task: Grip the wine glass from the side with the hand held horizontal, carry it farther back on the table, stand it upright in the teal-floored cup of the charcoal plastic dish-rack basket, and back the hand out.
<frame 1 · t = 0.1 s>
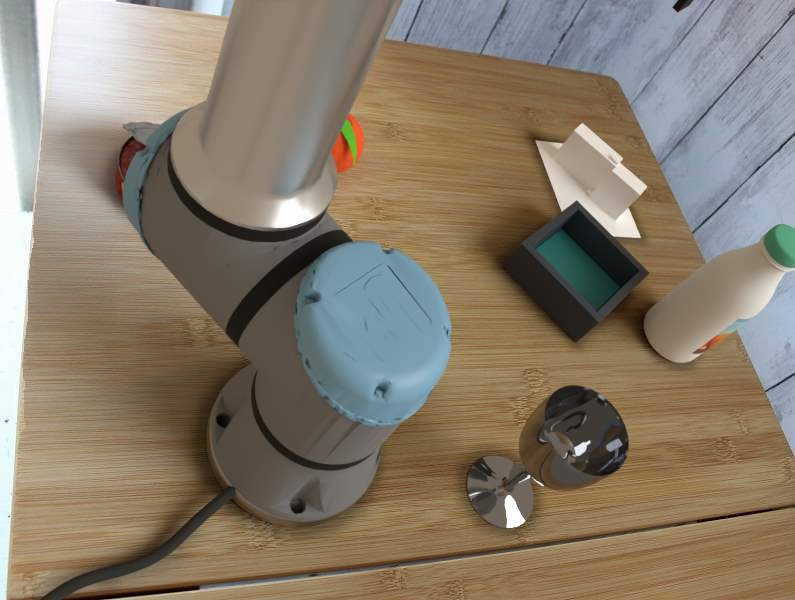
clementine: (323, 166, 93), on the table
milk bottle: (667, 336, 99), on the table
wine glass: (499, 491, 79), on the table
rack: (565, 279, 97), on the table
canned food: (165, 186, 83), on the table
napkin holder: (586, 189, 108), on the table
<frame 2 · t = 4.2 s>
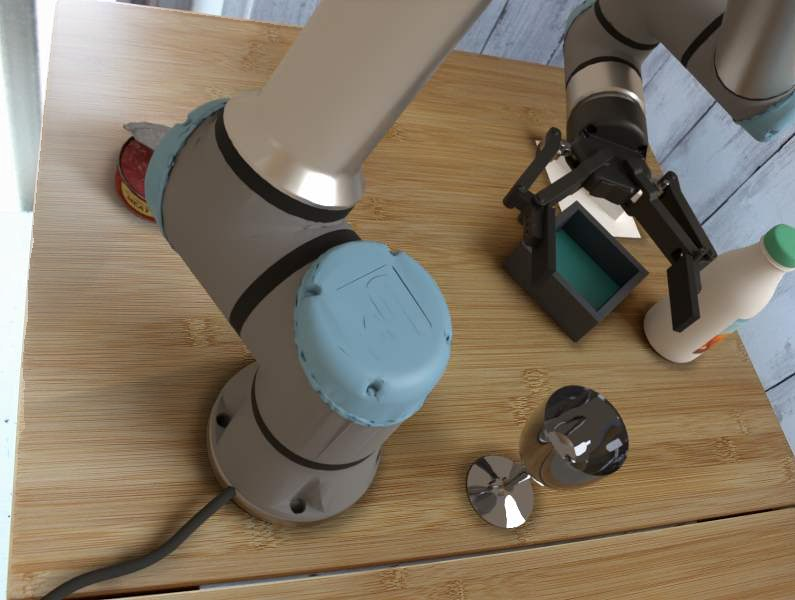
hand: (616, 302, 69), 20 cm above the table, tool horizontal, fingers open, 13 cm apart
nothing on the table moved.
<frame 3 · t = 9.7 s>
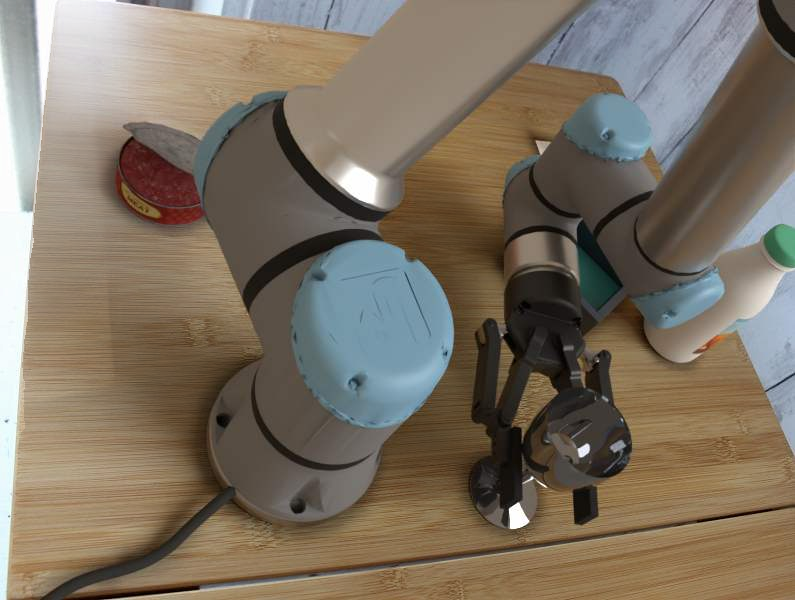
hand: (549, 511, 70), 8 cm above the table, tool horizontal, fingers closed on wine glass, 6 cm apart
wine glass: (503, 492, 79), on the table, touching gripper
everything else where it was.
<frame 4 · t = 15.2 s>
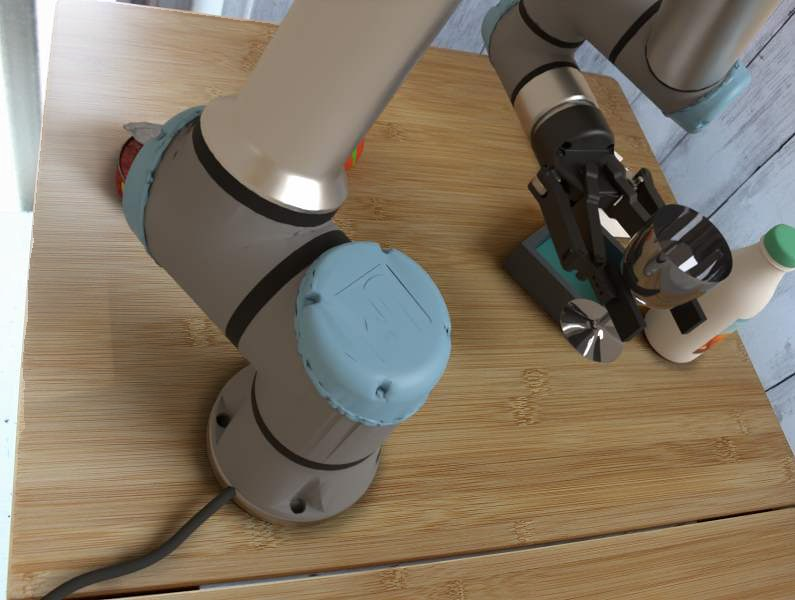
hand: (665, 330, 73), 18 cm above the table, tool horizontal, fingers closed on wine glass, 6 cm apart
wine glass: (591, 331, 81), point 10 cm above the table, touching gripper
everything else where it was.
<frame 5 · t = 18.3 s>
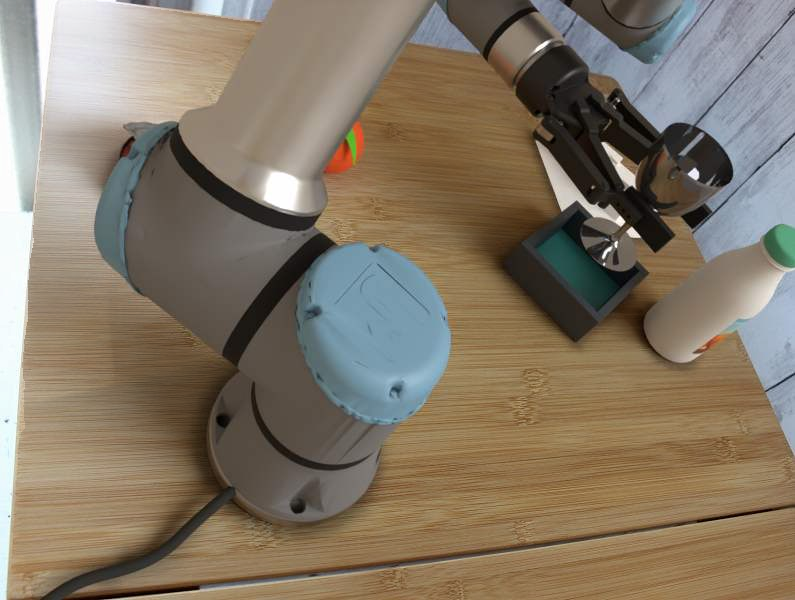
hand: (684, 232, 84), 16 cm above the table, tool horizontal, fingers closed on wine glass, 6 cm apart
wine glass: (607, 244, 91), point 8 cm above the table, touching gripper
everything else where it was.
when the fingers open (9 cm above the table, at t = 20.7 s): wine glass stays where it is, resting on rack.
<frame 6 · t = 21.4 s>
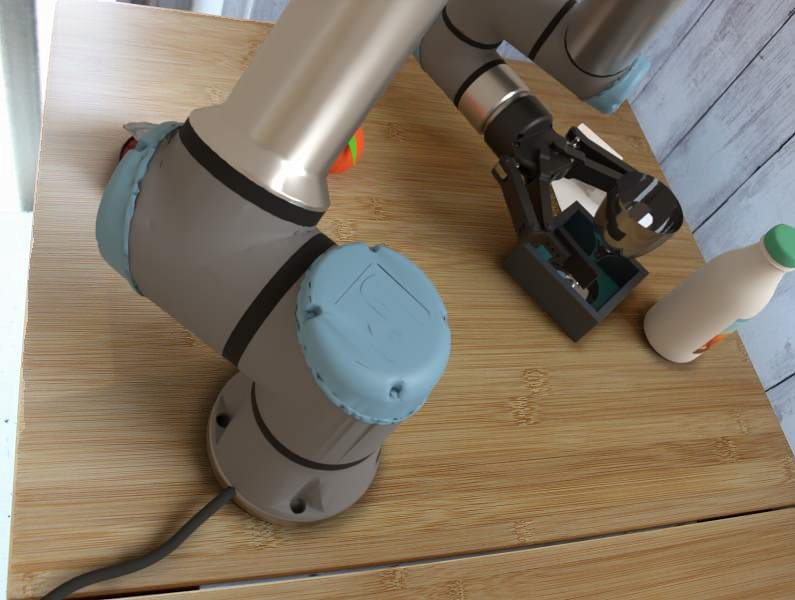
hand: (629, 259, 90), 9 cm above the table, tool horizontal, fingers open, 13 cm apart
wine glass: (571, 281, 97), point 1 cm above the table, touching rack
everything else where it was.
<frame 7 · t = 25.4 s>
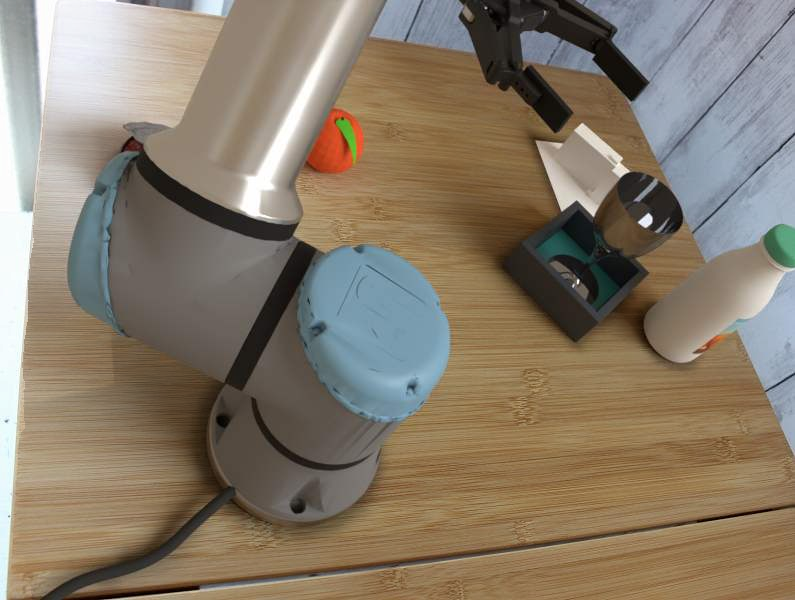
hand: (604, 107, 85), 19 cm above the table, tool horizontal, fingers open, 13 cm apart
nothing on the table moved.
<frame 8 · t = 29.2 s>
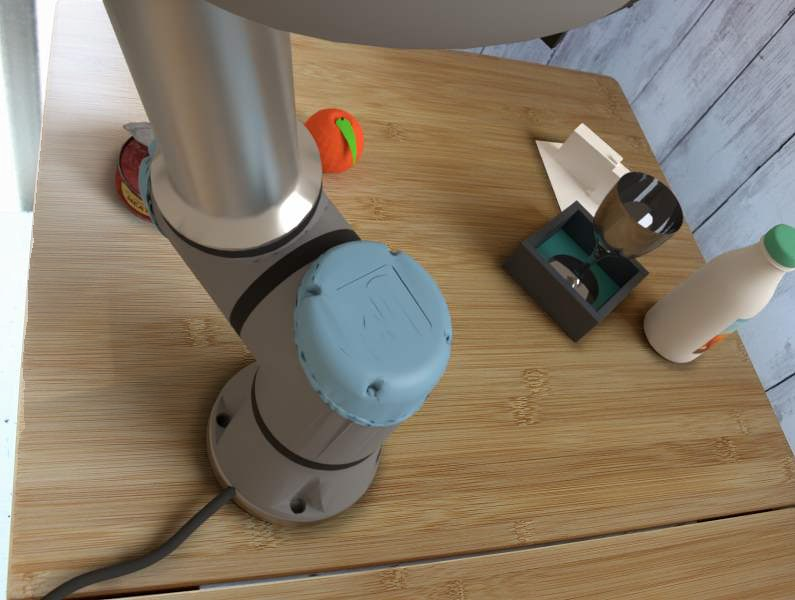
hand: (583, 16, 74), 29 cm above the table, tool pointing down, fingers open, 13 cm apart
nothing on the table moved.
at the end: wine glass 0.5 cm off-centre in the rack, point 0.6 cm above the rack's base; wine glass tilted 0°; the gripper is holding nothing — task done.
